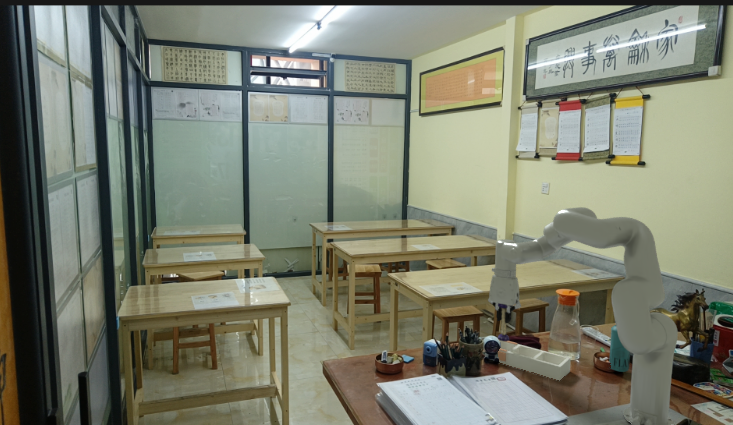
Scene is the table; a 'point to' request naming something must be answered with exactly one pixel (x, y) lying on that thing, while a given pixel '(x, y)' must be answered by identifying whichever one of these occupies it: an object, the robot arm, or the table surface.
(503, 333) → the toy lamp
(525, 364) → the rack
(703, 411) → the table surface
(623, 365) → the beverage bottle
